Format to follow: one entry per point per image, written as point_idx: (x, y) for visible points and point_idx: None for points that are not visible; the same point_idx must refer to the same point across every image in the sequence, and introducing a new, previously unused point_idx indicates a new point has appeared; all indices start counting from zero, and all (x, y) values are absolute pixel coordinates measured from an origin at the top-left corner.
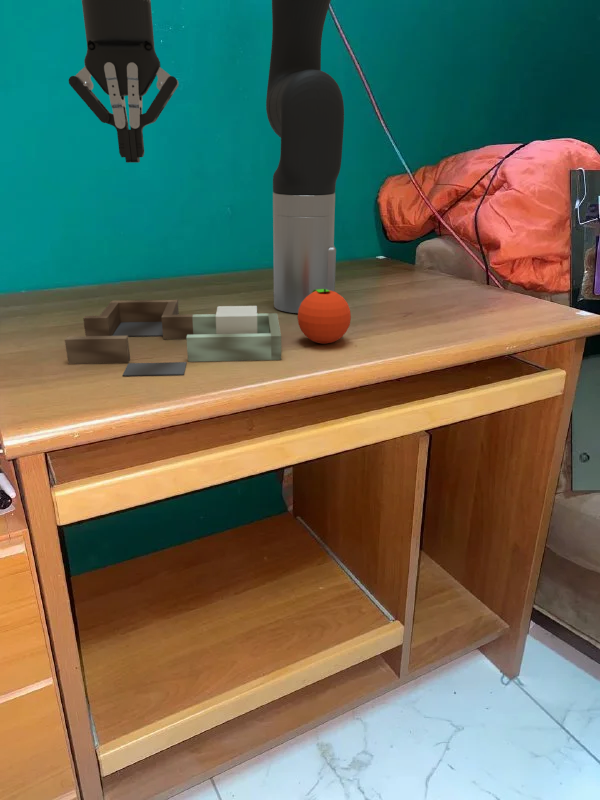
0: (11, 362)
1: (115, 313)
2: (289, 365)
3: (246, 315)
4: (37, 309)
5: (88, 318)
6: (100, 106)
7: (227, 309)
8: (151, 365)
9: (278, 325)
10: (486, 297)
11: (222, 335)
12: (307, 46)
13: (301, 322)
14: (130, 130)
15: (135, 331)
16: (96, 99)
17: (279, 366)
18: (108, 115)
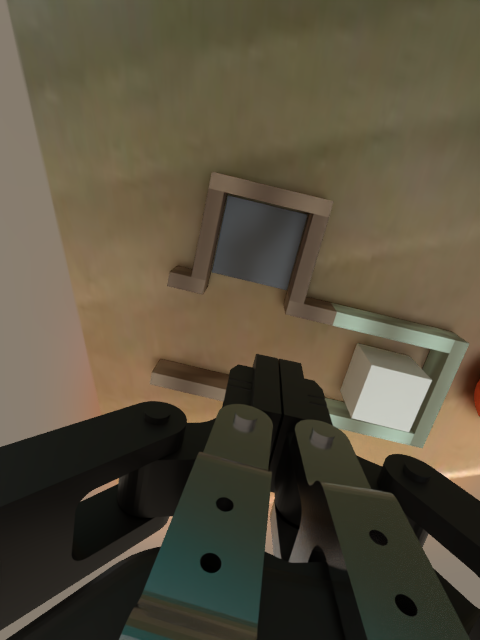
0: (90, 343)
1: (217, 228)
2: (411, 447)
3: (395, 424)
4: (70, 33)
5: (174, 287)
6: (108, 557)
7: (380, 387)
8: None
9: (440, 405)
10: None
11: (349, 425)
12: None
13: (477, 406)
14: (271, 490)
15: (247, 258)
16: (66, 565)
17: (398, 447)
18: (163, 523)
